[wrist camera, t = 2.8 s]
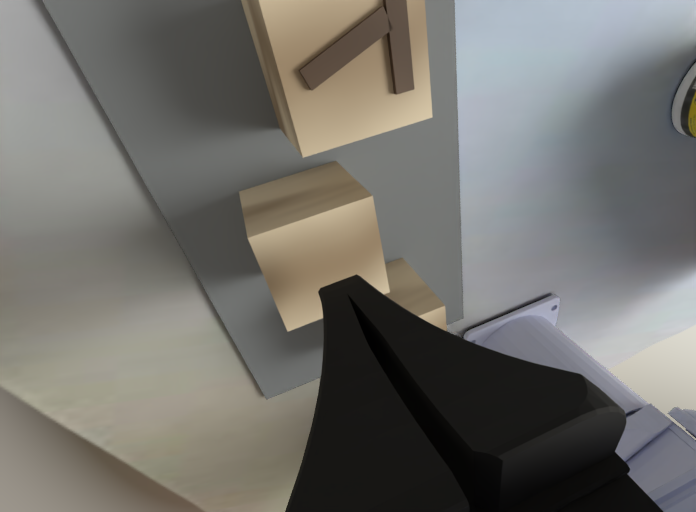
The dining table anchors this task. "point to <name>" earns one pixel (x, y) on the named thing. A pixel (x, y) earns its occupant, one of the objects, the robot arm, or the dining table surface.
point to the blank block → (312, 237)
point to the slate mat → (260, 157)
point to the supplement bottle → (686, 105)
